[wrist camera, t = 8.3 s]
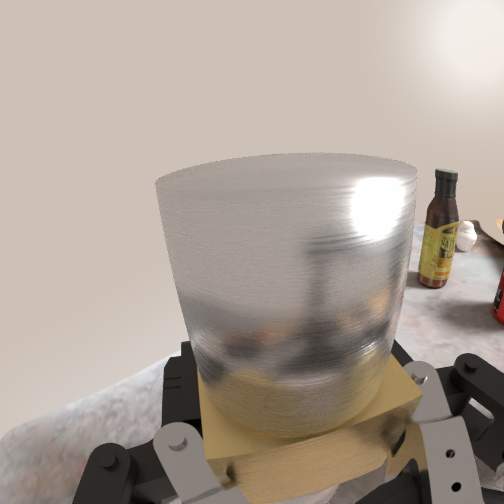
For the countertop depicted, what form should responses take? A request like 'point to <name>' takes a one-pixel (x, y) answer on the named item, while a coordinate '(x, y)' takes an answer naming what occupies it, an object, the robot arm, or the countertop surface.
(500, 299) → the canned food
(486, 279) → the countertop surface
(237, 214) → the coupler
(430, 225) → the sauce bottle
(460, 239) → the muffin
